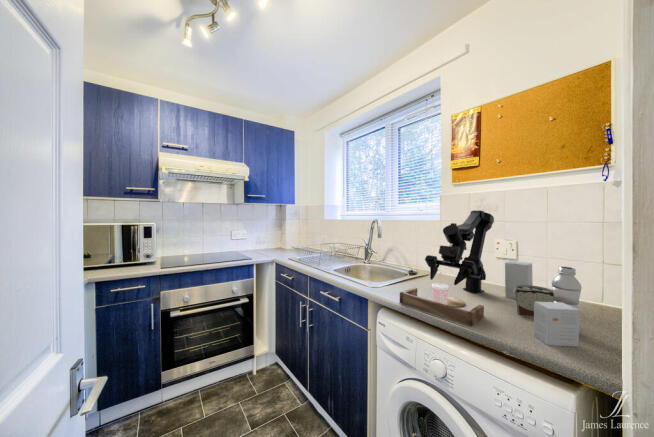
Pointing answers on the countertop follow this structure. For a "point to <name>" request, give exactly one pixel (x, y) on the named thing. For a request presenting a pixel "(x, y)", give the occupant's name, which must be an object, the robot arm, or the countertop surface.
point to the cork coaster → (455, 302)
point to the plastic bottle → (567, 288)
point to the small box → (556, 323)
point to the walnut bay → (442, 308)
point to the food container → (531, 298)
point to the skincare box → (517, 276)
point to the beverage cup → (440, 292)
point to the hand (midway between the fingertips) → (442, 281)
